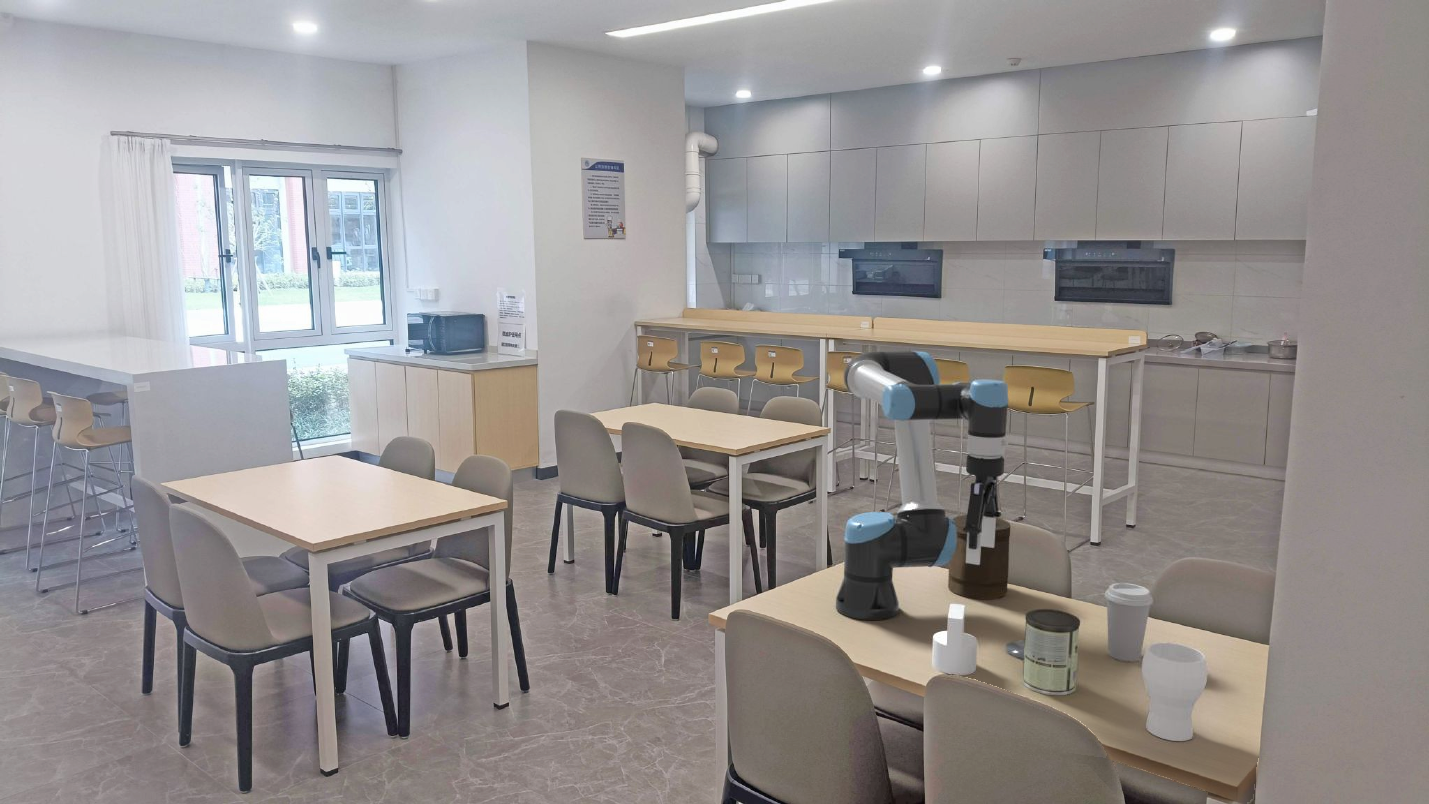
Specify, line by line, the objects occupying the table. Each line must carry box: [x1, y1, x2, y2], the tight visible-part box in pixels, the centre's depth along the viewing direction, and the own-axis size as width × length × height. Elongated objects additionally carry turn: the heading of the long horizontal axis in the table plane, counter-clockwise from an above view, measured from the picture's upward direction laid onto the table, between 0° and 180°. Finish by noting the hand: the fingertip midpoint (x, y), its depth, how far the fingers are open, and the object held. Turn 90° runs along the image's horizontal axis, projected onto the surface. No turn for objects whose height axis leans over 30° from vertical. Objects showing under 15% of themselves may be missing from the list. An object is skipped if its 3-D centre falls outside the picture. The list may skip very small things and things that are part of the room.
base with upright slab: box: [931, 603, 978, 676], centre depth 204 cm, size 9×9×12 cm
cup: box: [1141, 642, 1208, 742], centre depth 176 cm, size 11×11×15 cm
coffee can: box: [1021, 608, 1081, 696], centre depth 195 cm, size 10×10×14 cm
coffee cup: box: [1104, 582, 1154, 663], centre depth 210 cm, size 10×10×15 cm
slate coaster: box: [1005, 640, 1025, 661], centre depth 212 cm, size 10×10×1 cm
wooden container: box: [947, 514, 1011, 600], centre depth 251 cm, size 15×15×22 cm
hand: (980, 554), depth 204 cm, fingers open, 13 cm apart
